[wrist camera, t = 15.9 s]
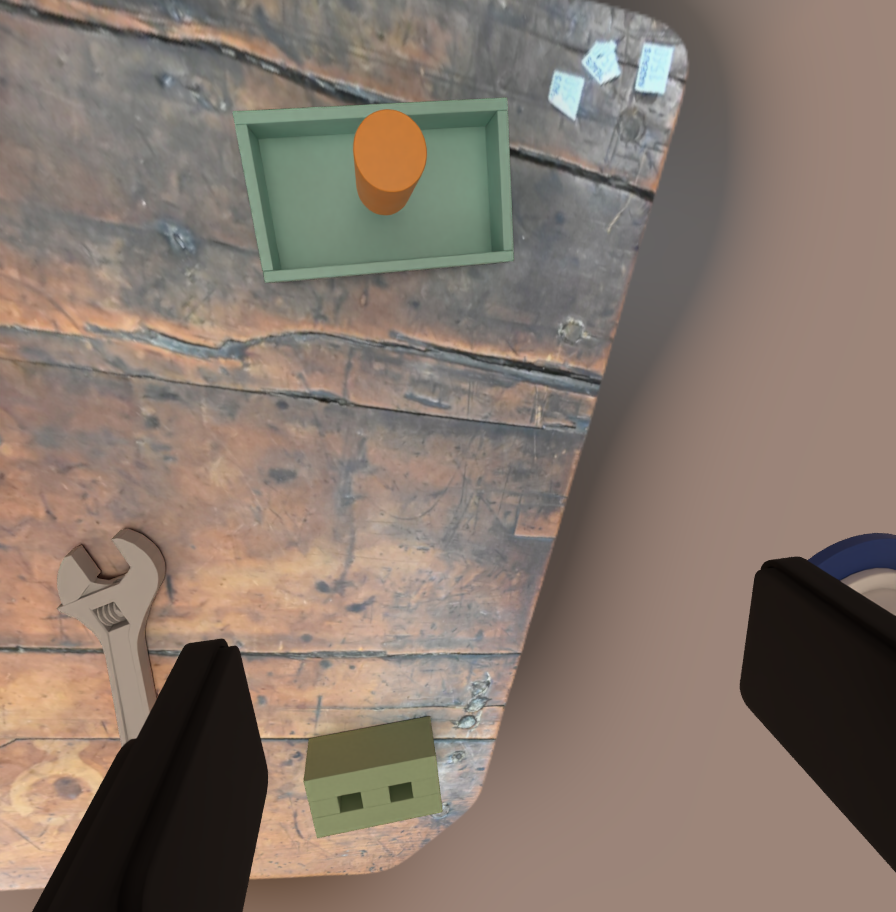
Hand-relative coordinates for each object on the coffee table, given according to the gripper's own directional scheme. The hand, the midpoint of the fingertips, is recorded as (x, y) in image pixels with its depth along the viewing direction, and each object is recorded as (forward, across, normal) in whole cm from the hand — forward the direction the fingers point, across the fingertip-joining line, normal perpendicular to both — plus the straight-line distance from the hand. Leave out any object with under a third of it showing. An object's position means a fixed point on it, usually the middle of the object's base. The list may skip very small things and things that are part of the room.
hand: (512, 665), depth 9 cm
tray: (+28, 0, -11) cm, 30 cm away
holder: (+28, +6, +32) cm, 43 cm away
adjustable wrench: (+28, +23, +20) cm, 41 cm away
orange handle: (+27, +1, -11) cm, 29 cm away
